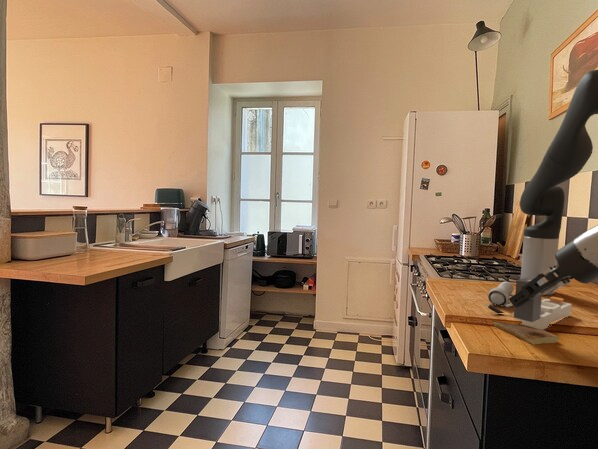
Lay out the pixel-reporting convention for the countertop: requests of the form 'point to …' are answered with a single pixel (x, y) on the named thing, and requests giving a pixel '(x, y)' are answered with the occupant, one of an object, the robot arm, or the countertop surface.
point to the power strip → (549, 313)
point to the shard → (528, 333)
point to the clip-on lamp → (500, 296)
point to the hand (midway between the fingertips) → (517, 301)
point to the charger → (528, 304)
